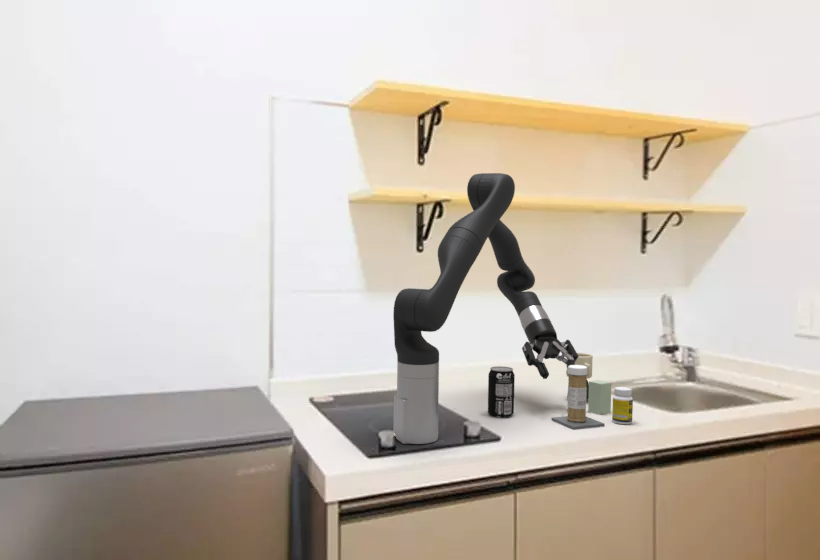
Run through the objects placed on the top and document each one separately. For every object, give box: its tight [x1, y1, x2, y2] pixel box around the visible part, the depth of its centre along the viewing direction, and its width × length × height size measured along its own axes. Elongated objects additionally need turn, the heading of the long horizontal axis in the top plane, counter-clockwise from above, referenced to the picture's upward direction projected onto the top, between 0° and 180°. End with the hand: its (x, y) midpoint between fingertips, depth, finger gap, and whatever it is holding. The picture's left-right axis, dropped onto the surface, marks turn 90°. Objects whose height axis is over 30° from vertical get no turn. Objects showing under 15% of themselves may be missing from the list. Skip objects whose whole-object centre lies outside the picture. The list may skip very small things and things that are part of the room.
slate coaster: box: [550, 415, 606, 430], centre depth 157 cm, size 9×9×1 cm
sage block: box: [587, 379, 612, 416], centre depth 168 cm, size 4×4×8 cm
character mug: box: [565, 352, 593, 401], centre depth 181 cm, size 11×7×13 cm, turn 14°
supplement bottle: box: [611, 386, 634, 425], centre depth 158 cm, size 5×5×8 cm
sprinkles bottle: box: [567, 365, 587, 422], centre depth 157 cm, size 5×5×14 cm
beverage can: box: [487, 365, 516, 419], centre depth 164 cm, size 7×7×12 cm
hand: (561, 376), depth 164 cm, fingers open, 8 cm apart
